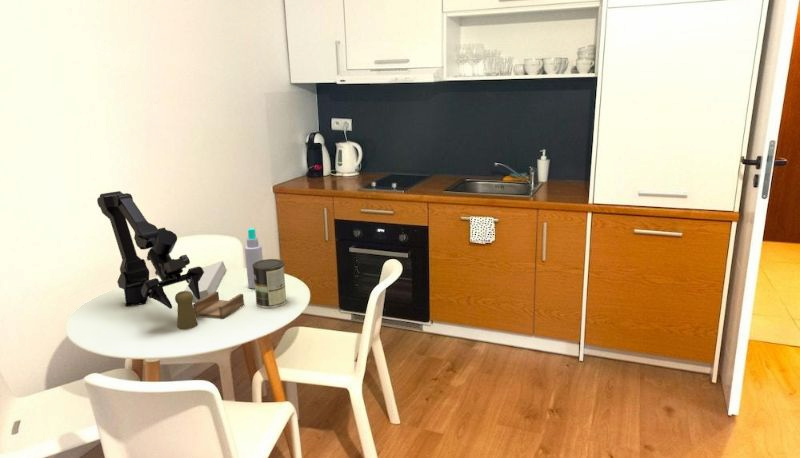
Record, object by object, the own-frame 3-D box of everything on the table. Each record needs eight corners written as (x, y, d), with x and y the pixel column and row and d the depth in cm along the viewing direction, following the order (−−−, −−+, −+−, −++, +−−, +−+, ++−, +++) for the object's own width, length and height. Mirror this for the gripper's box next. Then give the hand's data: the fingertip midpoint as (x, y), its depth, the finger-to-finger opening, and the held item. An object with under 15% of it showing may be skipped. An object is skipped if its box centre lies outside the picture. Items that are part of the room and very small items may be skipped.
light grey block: (183, 311, 195) (211, 301, 196) (178, 299, 194) (206, 289, 195) (203, 279, 228) (227, 271, 229) (198, 268, 227) (222, 260, 227)
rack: (194, 315, 183) (192, 304, 182) (216, 302, 194) (215, 291, 193) (223, 318, 180) (222, 307, 179) (244, 305, 191) (243, 294, 190)
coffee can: (253, 309, 187) (249, 268, 184) (259, 298, 197) (255, 259, 194) (284, 307, 188) (281, 267, 185) (288, 296, 198) (285, 258, 195)
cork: (177, 323, 178) (172, 290, 175) (197, 320, 180) (193, 287, 177) (177, 330, 172) (172, 297, 169) (198, 327, 174) (193, 294, 171)
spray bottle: (258, 282, 213) (253, 226, 208) (268, 285, 209) (263, 228, 204) (245, 287, 209) (239, 229, 203) (254, 290, 205) (249, 231, 200)
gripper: (139, 255, 166) (163, 298, 162) (197, 241, 180) (220, 281, 175) (131, 276, 173) (153, 318, 169) (187, 261, 187) (209, 299, 182)
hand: (185, 303), depth 174 cm, fingers open, 9 cm apart
